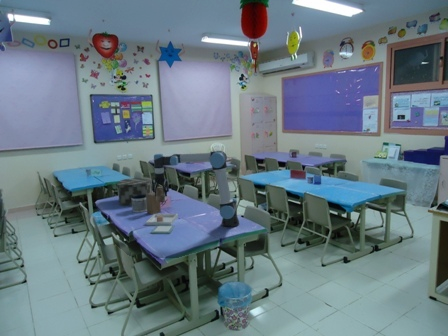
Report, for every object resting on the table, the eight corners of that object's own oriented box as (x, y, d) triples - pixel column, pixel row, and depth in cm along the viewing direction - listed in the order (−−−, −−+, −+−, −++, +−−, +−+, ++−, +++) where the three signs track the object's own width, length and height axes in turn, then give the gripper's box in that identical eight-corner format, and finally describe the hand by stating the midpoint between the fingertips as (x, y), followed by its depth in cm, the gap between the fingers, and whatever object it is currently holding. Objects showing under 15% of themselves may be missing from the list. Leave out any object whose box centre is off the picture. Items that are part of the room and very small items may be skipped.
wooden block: (161, 212, 319) (159, 193, 316) (152, 215, 312) (151, 195, 309) (155, 211, 326) (153, 191, 323) (146, 213, 319) (145, 193, 316)
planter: (140, 213, 319) (139, 199, 317) (129, 211, 327) (127, 197, 325) (151, 209, 333) (150, 195, 330) (140, 207, 341) (139, 194, 338)
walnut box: (166, 200, 273) (165, 186, 271) (163, 202, 267) (162, 188, 265) (159, 200, 274) (158, 186, 272) (156, 202, 268) (155, 188, 266)
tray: (178, 217, 304) (177, 213, 303) (171, 226, 280) (170, 222, 279) (154, 217, 306) (154, 213, 306) (145, 226, 282) (145, 222, 282)
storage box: (123, 198, 382) (121, 179, 379) (153, 196, 386) (152, 177, 382) (117, 206, 348) (115, 185, 344) (150, 204, 352) (149, 183, 348)
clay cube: (163, 222, 289) (163, 215, 288) (162, 223, 284) (162, 217, 283) (157, 222, 289) (157, 215, 288) (157, 224, 284) (156, 217, 283)
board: (174, 226, 278) (174, 225, 277) (169, 233, 262) (169, 232, 262) (156, 226, 279) (156, 225, 279) (150, 233, 264) (150, 232, 263)
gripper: (172, 171, 269) (173, 199, 273) (149, 172, 272) (151, 199, 275) (169, 173, 262) (171, 201, 266) (146, 173, 264) (148, 201, 268)
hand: (161, 200), depth 270 cm, fingers closed on walnut box, 6 cm apart
